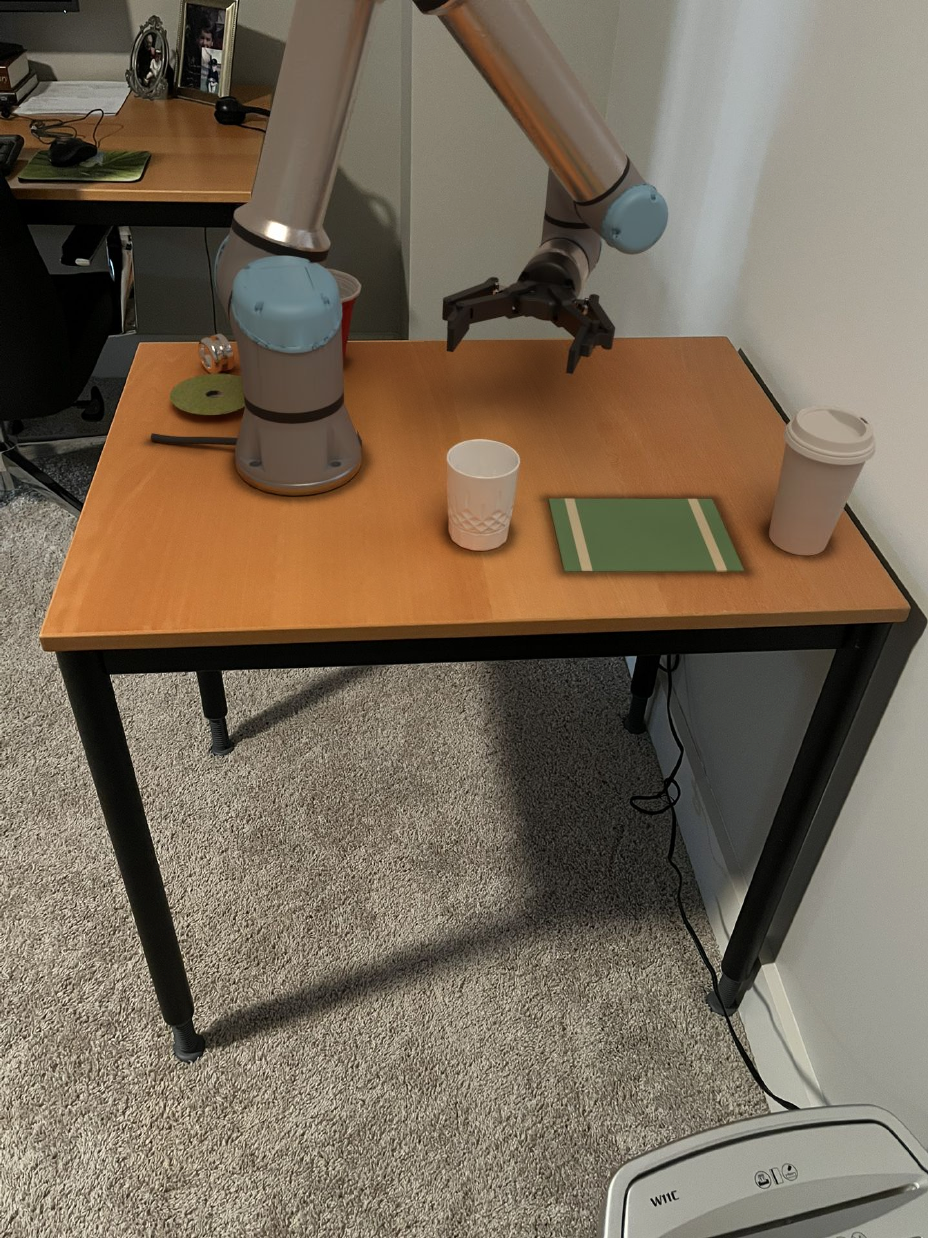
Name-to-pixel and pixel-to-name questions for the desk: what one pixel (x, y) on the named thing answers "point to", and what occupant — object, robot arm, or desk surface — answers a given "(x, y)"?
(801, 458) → the coffee cup
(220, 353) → the metal grooved wheel
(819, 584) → the desk surface
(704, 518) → the cloth
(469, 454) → the white cup
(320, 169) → the robot arm
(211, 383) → the green sanding disc
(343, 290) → the plastic cup
